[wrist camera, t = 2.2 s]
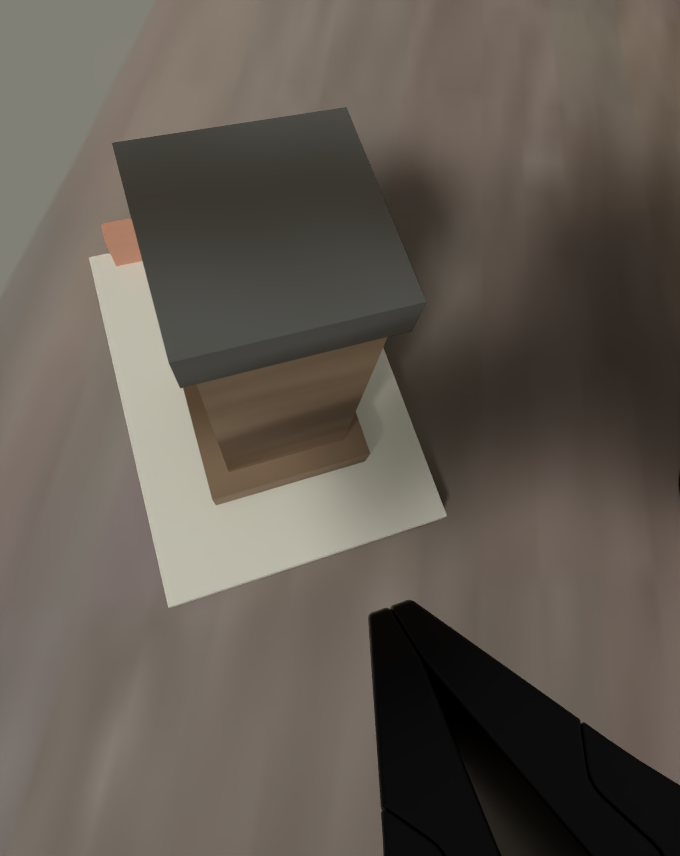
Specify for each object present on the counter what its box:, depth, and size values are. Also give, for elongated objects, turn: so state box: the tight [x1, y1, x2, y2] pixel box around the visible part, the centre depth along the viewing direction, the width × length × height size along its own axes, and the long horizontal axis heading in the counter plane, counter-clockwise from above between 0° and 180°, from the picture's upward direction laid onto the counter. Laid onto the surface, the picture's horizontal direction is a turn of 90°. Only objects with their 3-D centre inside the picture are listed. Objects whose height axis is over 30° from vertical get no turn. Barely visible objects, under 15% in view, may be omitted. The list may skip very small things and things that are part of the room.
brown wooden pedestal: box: [112, 107, 426, 505], centre depth 16 cm, size 6×6×11 cm
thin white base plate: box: [89, 219, 447, 608], centre depth 22 cm, size 15×11×2 cm
